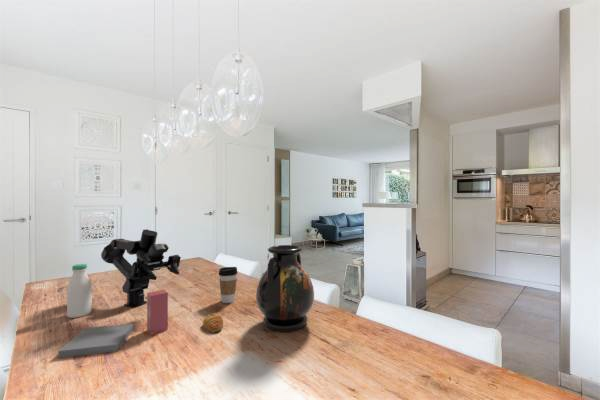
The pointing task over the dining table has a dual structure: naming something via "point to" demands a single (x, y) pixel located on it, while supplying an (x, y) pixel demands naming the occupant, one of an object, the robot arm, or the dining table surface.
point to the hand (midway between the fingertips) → (167, 276)
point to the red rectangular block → (157, 311)
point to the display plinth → (97, 340)
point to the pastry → (213, 323)
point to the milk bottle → (79, 293)
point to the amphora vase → (285, 290)
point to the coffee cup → (228, 284)
